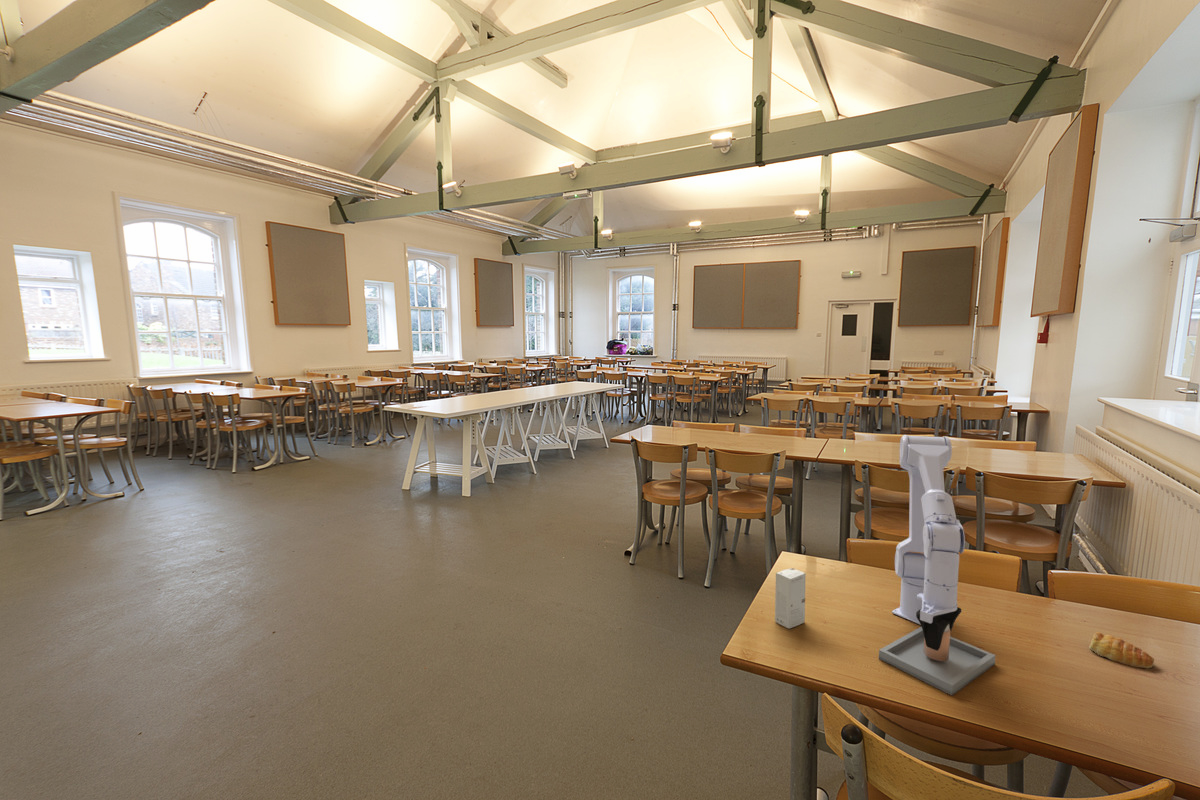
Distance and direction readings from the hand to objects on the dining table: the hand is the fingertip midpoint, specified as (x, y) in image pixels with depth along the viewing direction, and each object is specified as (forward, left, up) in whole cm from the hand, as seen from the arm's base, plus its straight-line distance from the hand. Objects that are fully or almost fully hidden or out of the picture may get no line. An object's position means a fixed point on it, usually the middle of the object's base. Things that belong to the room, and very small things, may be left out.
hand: (937, 643), depth 109 cm
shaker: (0, 0, -2) cm, 2 cm away
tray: (0, 0, -4) cm, 4 cm away
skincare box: (+12, -27, -4) cm, 30 cm away
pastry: (-34, +19, -4) cm, 39 cm away
